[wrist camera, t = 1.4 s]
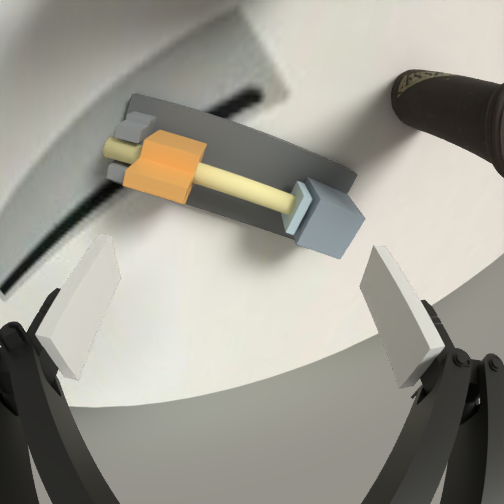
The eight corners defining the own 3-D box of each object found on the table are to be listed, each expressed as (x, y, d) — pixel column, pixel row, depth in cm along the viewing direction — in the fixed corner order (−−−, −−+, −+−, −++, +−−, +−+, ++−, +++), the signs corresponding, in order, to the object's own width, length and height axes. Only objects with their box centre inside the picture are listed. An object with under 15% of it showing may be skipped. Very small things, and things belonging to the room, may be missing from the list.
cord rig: (115, 178, 36) (89, 203, 29) (135, 93, 29) (107, 99, 23) (315, 242, 42) (327, 278, 35) (354, 171, 36) (378, 196, 29)
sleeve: (148, 171, 33) (119, 204, 25) (159, 129, 30) (130, 149, 22) (193, 185, 35) (177, 222, 27) (207, 143, 32) (193, 168, 24)
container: (444, 82, 28) (555, 113, 11) (431, 137, 33) (532, 196, 16) (395, 57, 27) (510, 65, 10) (382, 118, 32) (486, 168, 15)
